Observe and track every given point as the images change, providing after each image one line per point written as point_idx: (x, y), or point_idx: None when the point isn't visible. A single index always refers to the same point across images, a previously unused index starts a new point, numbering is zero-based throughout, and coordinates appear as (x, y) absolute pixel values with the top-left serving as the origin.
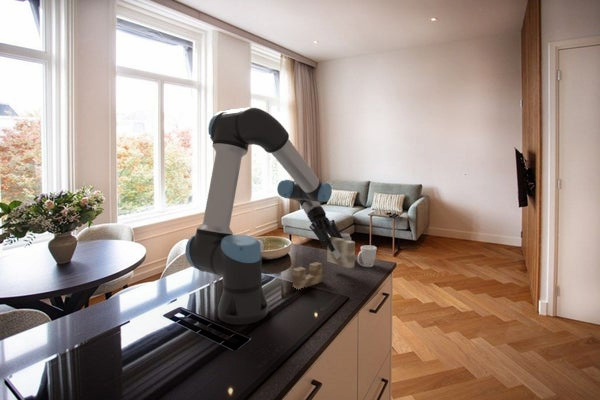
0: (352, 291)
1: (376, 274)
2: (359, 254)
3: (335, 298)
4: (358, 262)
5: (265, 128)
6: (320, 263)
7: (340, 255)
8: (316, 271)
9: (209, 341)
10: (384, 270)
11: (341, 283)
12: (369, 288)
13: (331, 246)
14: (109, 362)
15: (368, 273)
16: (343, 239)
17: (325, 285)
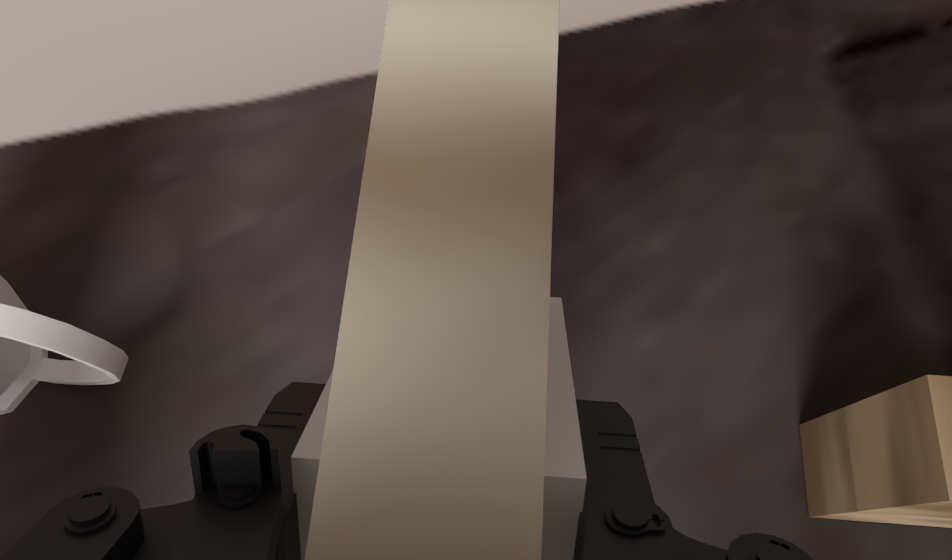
0: (729, 93)
1: (230, 150)
2: (59, 323)
3: (938, 108)
4: (121, 371)
5: None
6: (939, 401)
7: (552, 300)
8: None
9: None
10: (69, 151)
11: (672, 252)
12: (573, 37)
13: (628, 454)
14: None
15: (252, 216)
16: (378, 241)
17: (835, 331)
